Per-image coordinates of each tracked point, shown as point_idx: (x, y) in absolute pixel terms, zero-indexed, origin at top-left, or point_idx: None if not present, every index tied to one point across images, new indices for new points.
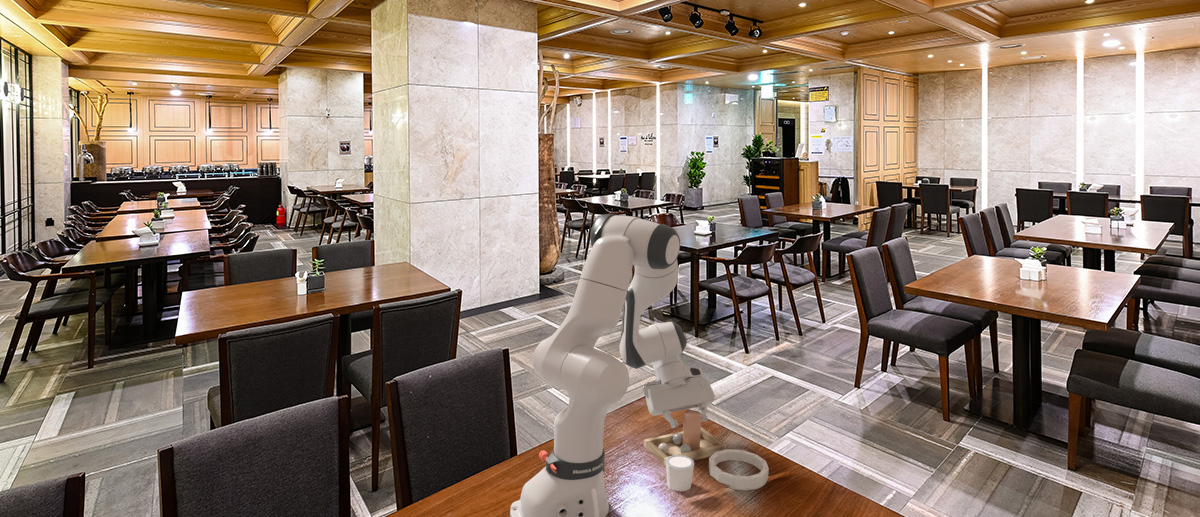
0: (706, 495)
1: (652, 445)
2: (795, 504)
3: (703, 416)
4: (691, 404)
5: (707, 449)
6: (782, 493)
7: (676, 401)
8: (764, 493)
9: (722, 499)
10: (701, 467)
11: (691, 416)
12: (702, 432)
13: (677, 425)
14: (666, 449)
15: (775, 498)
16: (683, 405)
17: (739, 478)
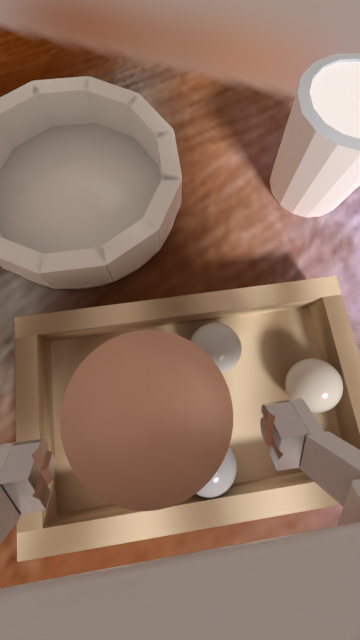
0: (237, 132)
1: None
2: (18, 41)
3: (23, 462)
4: (85, 574)
5: (123, 308)
6: (13, 85)
7: (320, 631)
8: None
9: (200, 105)
10: (179, 273)
11: (183, 361)
12: None
13: (274, 402)
14: (310, 359)
15: (50, 73)
16: (207, 557)
17: (123, 88)
